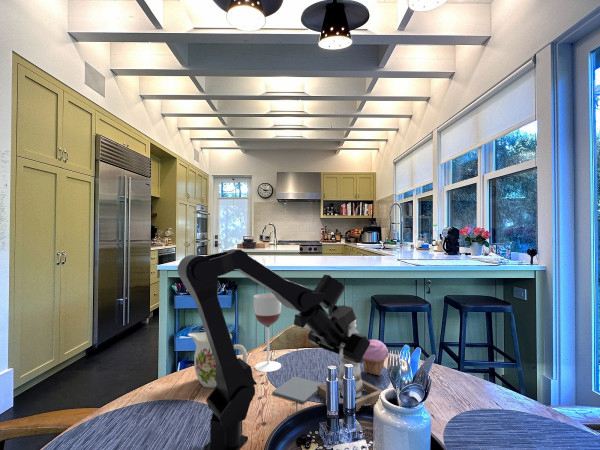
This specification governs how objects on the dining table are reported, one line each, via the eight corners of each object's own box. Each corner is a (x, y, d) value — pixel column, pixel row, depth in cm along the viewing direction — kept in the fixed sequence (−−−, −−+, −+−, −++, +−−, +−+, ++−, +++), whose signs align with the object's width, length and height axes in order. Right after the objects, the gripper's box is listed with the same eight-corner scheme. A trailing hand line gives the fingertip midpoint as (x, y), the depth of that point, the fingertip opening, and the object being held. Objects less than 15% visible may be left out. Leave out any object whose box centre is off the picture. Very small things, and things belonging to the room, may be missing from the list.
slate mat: (304, 403, 79) (304, 401, 79) (272, 393, 84) (272, 391, 84) (324, 386, 88) (324, 384, 88) (294, 378, 93) (294, 376, 93)
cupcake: (355, 375, 95) (354, 342, 95) (364, 365, 102) (363, 334, 103) (384, 381, 90) (384, 346, 91) (391, 370, 98) (391, 338, 98)
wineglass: (248, 370, 99) (248, 297, 100) (261, 359, 108) (261, 292, 110) (275, 374, 96) (275, 298, 97) (286, 361, 106) (285, 293, 107)
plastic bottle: (334, 399, 81) (333, 321, 82) (343, 388, 87) (342, 315, 88) (358, 405, 78) (357, 323, 79) (366, 393, 84) (364, 317, 85)
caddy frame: (349, 414, 73) (349, 405, 74) (317, 393, 84) (317, 385, 84) (384, 399, 80) (384, 391, 81) (351, 381, 91) (351, 374, 91)
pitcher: (241, 393, 84) (241, 341, 85) (178, 389, 87) (178, 339, 87) (252, 375, 95) (252, 330, 96) (196, 373, 98) (196, 328, 98)
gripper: (363, 302, 74) (395, 341, 79) (315, 292, 89) (345, 325, 95) (339, 343, 69) (374, 381, 74) (293, 324, 84) (325, 357, 90)
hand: (353, 358), depth 83 cm, fingers closed on plastic bottle, 6 cm apart
